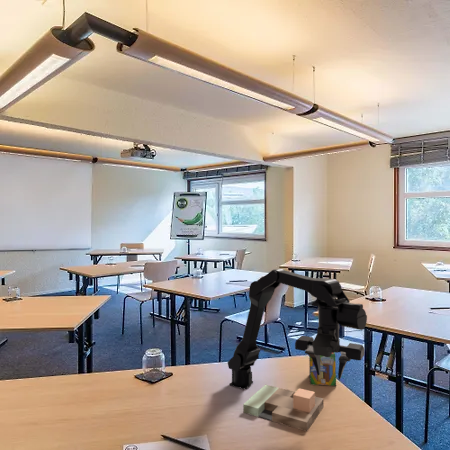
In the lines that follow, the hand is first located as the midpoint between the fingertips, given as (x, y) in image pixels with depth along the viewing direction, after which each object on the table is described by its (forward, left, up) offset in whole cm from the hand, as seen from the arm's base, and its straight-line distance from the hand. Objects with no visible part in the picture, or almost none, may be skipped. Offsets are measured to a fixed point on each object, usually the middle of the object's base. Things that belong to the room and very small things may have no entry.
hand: (329, 376), depth 105 cm
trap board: (-14, 0, -13) cm, 19 cm away
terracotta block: (-8, 0, -11) cm, 13 cm away
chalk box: (-10, +27, -13) cm, 32 cm away
